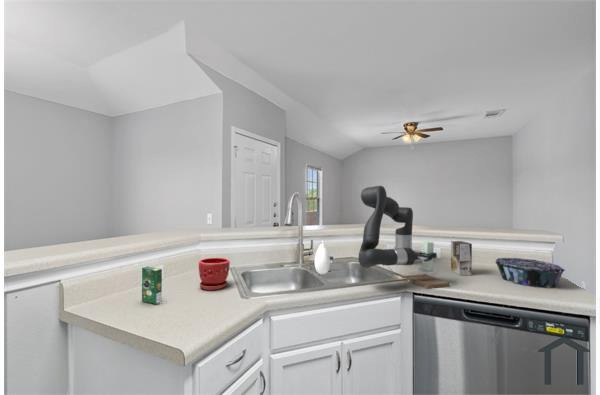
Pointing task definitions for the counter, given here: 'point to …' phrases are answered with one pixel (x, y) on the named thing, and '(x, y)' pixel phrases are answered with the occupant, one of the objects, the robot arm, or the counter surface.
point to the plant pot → (213, 273)
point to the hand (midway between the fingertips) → (432, 254)
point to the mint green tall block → (428, 265)
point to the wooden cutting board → (427, 281)
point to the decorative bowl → (529, 272)
